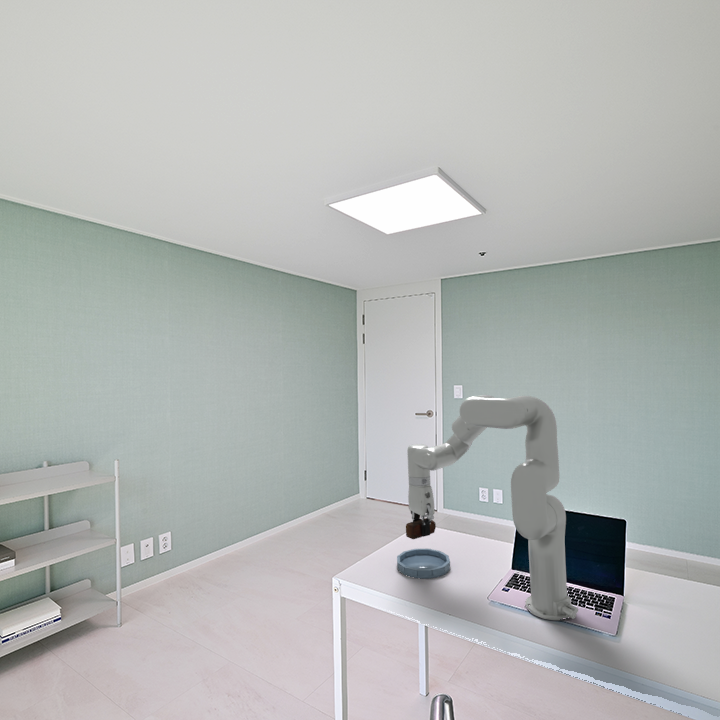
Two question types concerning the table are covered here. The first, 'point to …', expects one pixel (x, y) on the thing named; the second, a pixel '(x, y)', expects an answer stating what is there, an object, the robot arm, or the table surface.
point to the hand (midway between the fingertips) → (421, 532)
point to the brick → (417, 529)
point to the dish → (423, 563)
